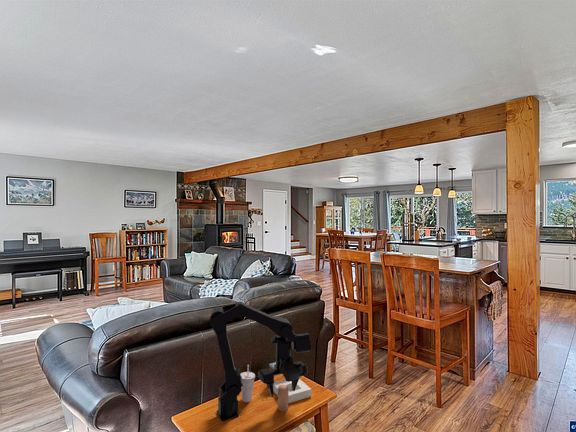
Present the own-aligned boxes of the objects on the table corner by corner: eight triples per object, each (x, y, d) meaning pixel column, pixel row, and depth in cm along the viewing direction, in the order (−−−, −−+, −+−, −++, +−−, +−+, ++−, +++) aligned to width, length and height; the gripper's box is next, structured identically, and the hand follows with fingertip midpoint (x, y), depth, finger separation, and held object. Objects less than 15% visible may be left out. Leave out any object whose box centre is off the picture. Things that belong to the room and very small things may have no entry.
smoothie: (247, 405, 128) (247, 369, 128) (235, 400, 132) (235, 365, 132) (258, 398, 133) (258, 363, 133) (246, 393, 137) (247, 359, 137)
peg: (280, 412, 124) (281, 391, 124) (276, 407, 128) (276, 386, 128) (290, 409, 126) (290, 388, 126) (285, 404, 130) (285, 383, 130)
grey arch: (272, 388, 142) (273, 367, 142) (268, 383, 145) (269, 363, 145) (293, 382, 146) (293, 362, 146) (289, 378, 150) (289, 359, 150)
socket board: (285, 404, 130) (285, 396, 130) (271, 389, 140) (271, 382, 140) (311, 396, 135) (311, 389, 135) (296, 383, 146) (296, 376, 146)
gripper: (270, 366, 115) (269, 411, 115) (315, 356, 124) (314, 398, 124) (257, 354, 125) (257, 396, 125) (300, 345, 134) (299, 384, 134)
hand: (282, 393), depth 127 cm, fingers open, 9 cm apart
